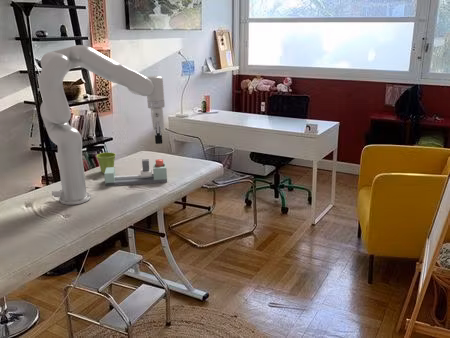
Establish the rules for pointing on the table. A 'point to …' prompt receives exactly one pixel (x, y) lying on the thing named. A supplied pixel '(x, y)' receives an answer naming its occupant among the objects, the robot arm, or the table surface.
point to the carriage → (146, 168)
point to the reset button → (159, 163)
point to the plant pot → (106, 160)
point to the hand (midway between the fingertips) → (159, 143)
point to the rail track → (135, 177)
